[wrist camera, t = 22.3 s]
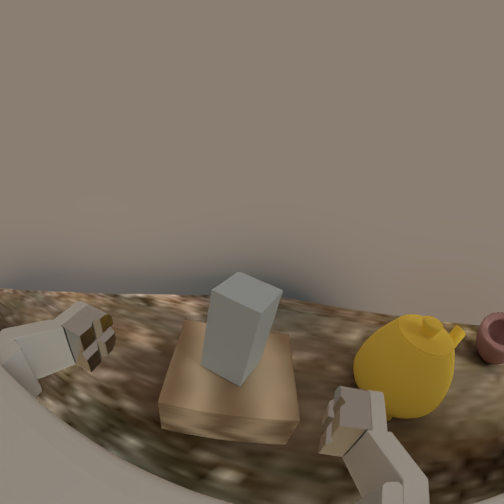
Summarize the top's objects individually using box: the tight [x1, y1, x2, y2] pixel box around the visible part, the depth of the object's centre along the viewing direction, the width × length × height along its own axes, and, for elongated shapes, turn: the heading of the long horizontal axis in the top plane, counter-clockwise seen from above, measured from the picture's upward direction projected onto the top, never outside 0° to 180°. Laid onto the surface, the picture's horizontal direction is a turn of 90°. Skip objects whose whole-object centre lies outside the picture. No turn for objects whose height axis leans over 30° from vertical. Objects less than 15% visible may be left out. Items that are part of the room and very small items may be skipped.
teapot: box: [353, 314, 466, 422], centre depth 32 cm, size 20×16×14 cm
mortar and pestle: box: [476, 312, 504, 364], centre depth 40 cm, size 12×12×12 cm
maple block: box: [158, 319, 300, 444], centre depth 31 cm, size 14×14×6 cm
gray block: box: [201, 272, 283, 387], centre depth 28 cm, size 5×5×10 cm
